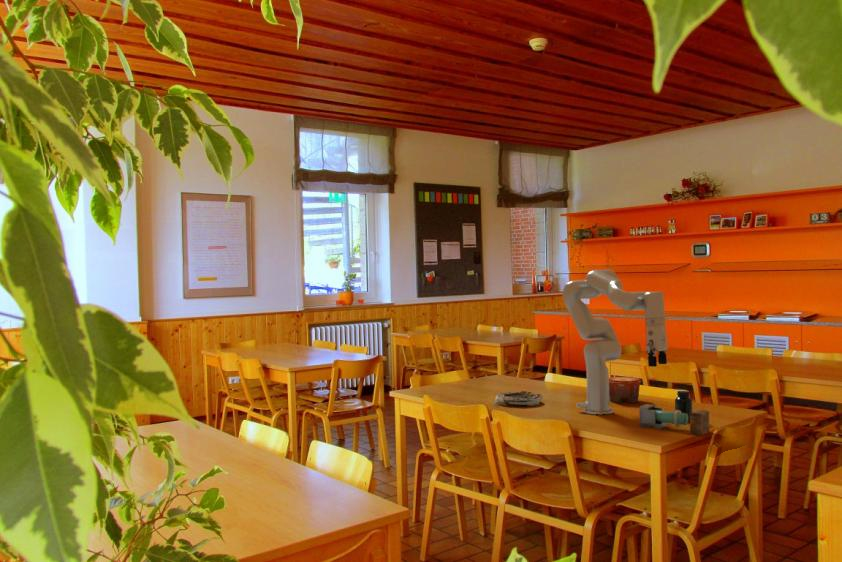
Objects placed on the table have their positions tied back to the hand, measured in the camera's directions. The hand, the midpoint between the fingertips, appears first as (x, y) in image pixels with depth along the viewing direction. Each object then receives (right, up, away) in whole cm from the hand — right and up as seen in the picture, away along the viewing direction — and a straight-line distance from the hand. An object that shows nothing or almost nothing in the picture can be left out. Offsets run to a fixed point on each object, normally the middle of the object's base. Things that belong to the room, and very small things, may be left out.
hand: (657, 365), depth 285 cm
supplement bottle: (+14, -24, +10) cm, 30 cm away
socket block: (+12, -24, -13) cm, 30 cm away
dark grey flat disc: (-47, -25, +54) cm, 76 cm away
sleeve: (-2, -24, -1) cm, 25 cm away
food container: (+2, -24, +53) cm, 58 cm away
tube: (+2, -23, -4) cm, 23 cm away
